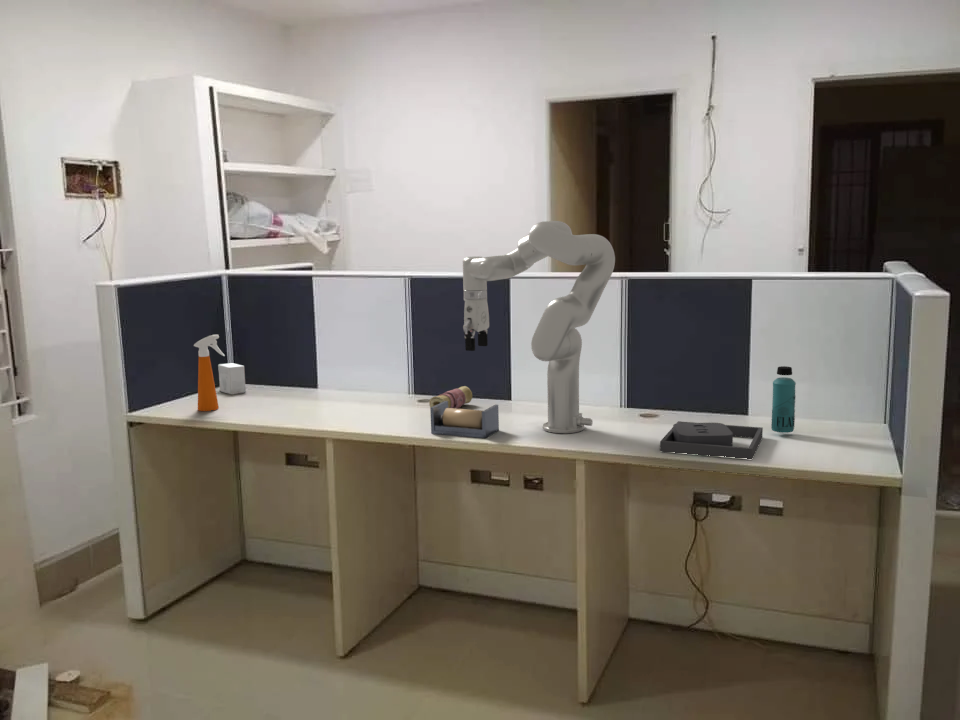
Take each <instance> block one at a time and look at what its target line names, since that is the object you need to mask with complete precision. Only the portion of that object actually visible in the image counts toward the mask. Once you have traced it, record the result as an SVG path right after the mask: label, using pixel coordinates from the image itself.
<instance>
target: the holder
mask: <svg viewBox="0 0 960 720" xmlns="http://www.w3.org/2000/svg"><path fill="white" fill-rule="evenodd" d="M446 408H448V401H444V402H442V403H439V404H437V405H435V406H433V407H431V408H430V407H429V409H430V430H431V431H430V433H431V434H434V435H443V436H444V435H445V436H452V437H453V436H454V437H467V438H475V439H476V438H478V439H487V438H489V437H490V436H492V435H493V434H495V433H497V432H498V431H500V420H499V419H500V418H499V404H494V405H491V406H489V407H488V408H486V409H484V410H482V429H478V428H467V427H455V426H444V425H443V413H444V411H445V409H446Z"/></svg>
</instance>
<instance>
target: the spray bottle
mask: <svg viewBox="0 0 960 720" xmlns="http://www.w3.org/2000/svg"><path fill="white" fill-rule="evenodd" d="M219 335H220V334H212V335H211V334H210V335H207V336H206V337H203V338H202V339H200V340H198V341H196V342H195V343H194V344H193V347H195V348H198V354H197V355H198V361H197V362H198V363H197V364H198V367H197V368H198V370H197V371H198V372H197V374H198V376H197V411H199V412H212V411H211V410H213V411H215V410H218V409H219V408H220V407H219V402H218V396H217V389H216V386H215V380H214V379H215V378H214V374H213V368H212V362H211V357H210V351H209V350H210V349H208V348H209V347H211V348H212V349H213V350H215V351H216V352H217V353H218V354H219V355H221V356H223V357H225V356H226V355H225V354H224V353H223V351H222V350H221V349H220V348H219V346H218V341H217V340H218V339H219V338H220V336H219Z"/></svg>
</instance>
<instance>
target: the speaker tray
mask: <svg viewBox="0 0 960 720" xmlns="http://www.w3.org/2000/svg"><path fill="white" fill-rule="evenodd" d="M676 423H695V422H693V421H677V422H676ZM725 425H726V426H727V427H728V428H729V429H730V430H731V432H732V433H733V437H735V436H742V437H741V438H748V437H752V438H751V439H752V440H751V442H750V444H749V446H748V447H743V446H721V445H709V444H697V443H685V442H673V427H672V428H671V429H669V431H668V432H667V433H666V434H665V435H664V437H662V438H661V440H660V443H659V452H660V451H663V452H662V453H665V452H675V453H674V454H676V453H687V454H698V455H708V456H707V457H709V455H710V456H724V457H725V456H726V457H735V458H747V459H752V458H754V457H755V455H754V454H756V452H757V450H758V448H759V446H758V445H760V443H761V441H762V440H761V439H763V431H764V430H763V429H764V428H763V427H762V426H761V427H759V426H746V425H745V426H744V425H735V424H734V425H731V424H725ZM757 447H758V448H757ZM755 451H756V452H755ZM687 454H686V455H687ZM698 455H697V456H698ZM753 456H754V457H753ZM752 460H753V459H752Z"/></svg>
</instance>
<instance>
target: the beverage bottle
mask: <svg viewBox="0 0 960 720" xmlns="http://www.w3.org/2000/svg"><path fill="white" fill-rule="evenodd" d="M776 374H777V375H780V376H781V377H777V378H775V379H774V380H773V381H772V404H771V405H772V408H771V426H770V427H771V431H773V432H777V433H780V434H781V433H783V434H784V433H785V434H786V433H792V432H794V430H795V423H796V417H795V416H796V414H795V413H796V408H795V407H796V384H797V383H796V381H795V380H794V379H793V378H791V377H782V376H792V375H793V368H792V367H791V366H785V365H784V366H778V367H777V370H776Z"/></svg>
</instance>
